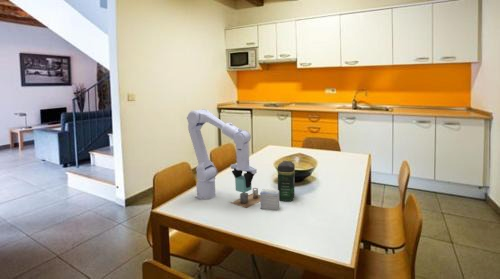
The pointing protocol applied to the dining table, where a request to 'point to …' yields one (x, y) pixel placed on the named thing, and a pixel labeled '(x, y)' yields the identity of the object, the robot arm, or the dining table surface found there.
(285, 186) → the coffee jar
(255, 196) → the round post
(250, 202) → the stand plate
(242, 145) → the robot arm
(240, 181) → the teal foam brick
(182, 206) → the dining table surface
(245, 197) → the square post
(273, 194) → the medicine box
